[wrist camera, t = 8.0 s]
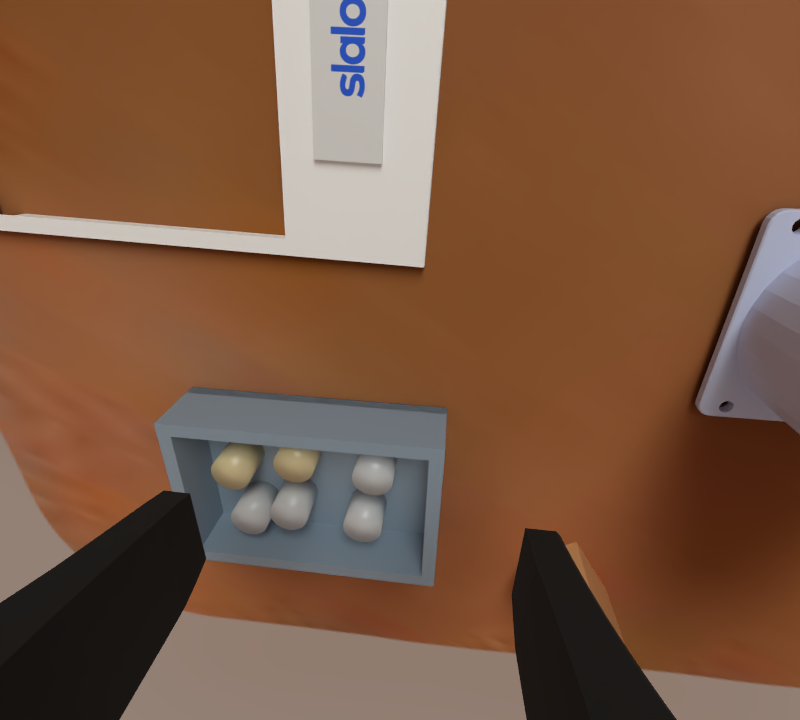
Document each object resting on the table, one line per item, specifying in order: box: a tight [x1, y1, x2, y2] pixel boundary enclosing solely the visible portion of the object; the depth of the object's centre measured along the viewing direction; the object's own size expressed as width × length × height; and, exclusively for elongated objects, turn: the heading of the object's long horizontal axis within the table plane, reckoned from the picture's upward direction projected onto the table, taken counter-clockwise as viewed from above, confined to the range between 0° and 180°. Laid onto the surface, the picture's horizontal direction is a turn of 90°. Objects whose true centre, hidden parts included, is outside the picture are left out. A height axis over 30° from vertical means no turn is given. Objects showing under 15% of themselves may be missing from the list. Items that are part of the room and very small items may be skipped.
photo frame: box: [0, 0, 447, 268], centre depth 15 cm, size 15×1×18 cm
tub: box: [154, 387, 447, 587], centre depth 21 cm, size 12×8×3 cm, turn 89°
